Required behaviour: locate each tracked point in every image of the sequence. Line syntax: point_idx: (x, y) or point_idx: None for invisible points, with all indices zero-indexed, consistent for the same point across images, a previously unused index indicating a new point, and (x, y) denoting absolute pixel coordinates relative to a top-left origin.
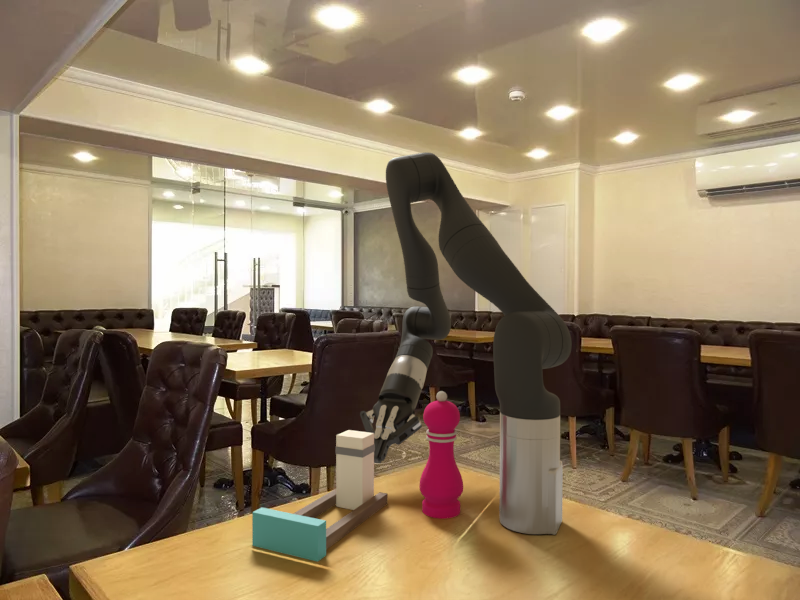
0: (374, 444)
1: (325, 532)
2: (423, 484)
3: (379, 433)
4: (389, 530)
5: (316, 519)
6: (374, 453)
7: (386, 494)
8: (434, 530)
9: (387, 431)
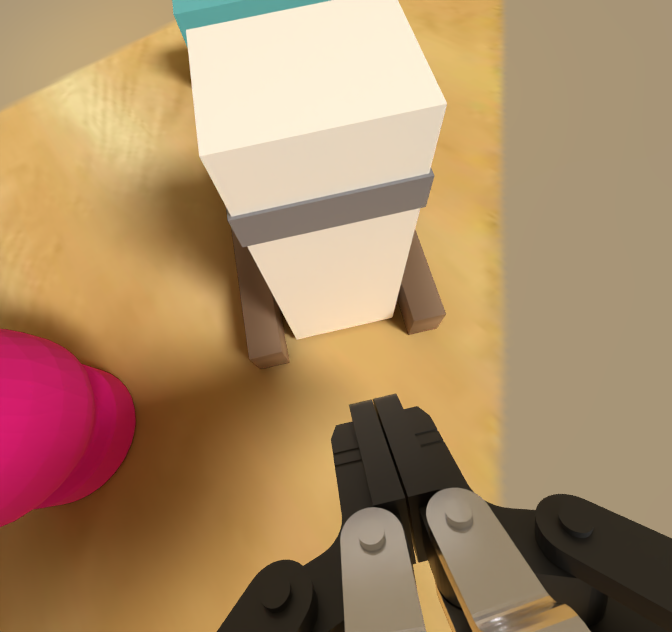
0: (227, 217)
1: (185, 42)
2: (27, 334)
3: (450, 545)
4: (159, 243)
5: (197, 7)
6: (378, 412)
7: (248, 351)
8: (52, 311)
9: (379, 606)
